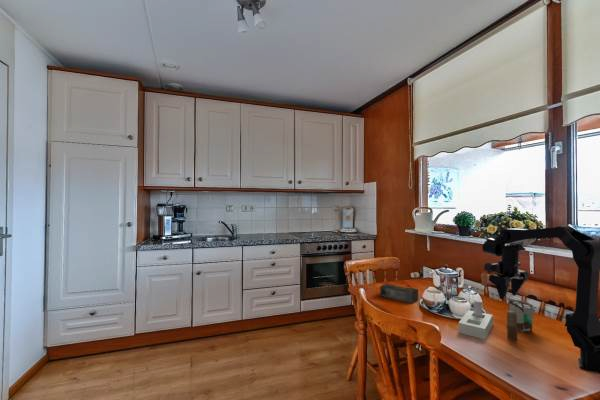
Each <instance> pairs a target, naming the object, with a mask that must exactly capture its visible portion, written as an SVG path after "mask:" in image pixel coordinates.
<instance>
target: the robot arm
mask: <svg viewBox="0 0 600 400" xmlns="http://www.w3.org/2000/svg"><path fill="white" fill-rule="evenodd" d="M553 238H554V239H555V238H557V239H559V240H560V242H561V243H562V244H563V245H564V246H565V247H566V248H567V249H569V250H570V251H571V254H572V259H573V261H574V262H575V264H576V266H577V275H576V276H577V277H576V278H577V279H576V293H575V308H574V309H575V310H574V311H573V312H572V313H566V314H565V323H564V327H566V333H567V334H569V336H570V339H571V341H572V343H573V346H574V347H577V348H578V349H579V355H580V356H579V357H580V358H578V359H577V360H578V367H579V368H580V369H583V370H587V371H590V372H592V373H593V372H594V373H598V374H600V318H599V316H598V314H597V313H598V298H599V297H598V295H599V283H600V280H599V279H600V240H598V239H595V238H593V237H592V236H590V235H588V234H585V233H583V232H580V231H579V230H577V229H575V228H574V227H572V226H570V225H557V226H553V227H543V228H541V227H540V228H532V229H531V228H530V229H529V228H527V229H526V228H519V227H517V228H516V227H514V228H502V229H501V230H500V231H499V234H498V235H497V236H496V237H495V239H494V238H491V237H488V238H486V241H485V242H484V243H483V245H482V251H483V253H485V254H488V255H493V256H495V257H501V259H500V260H498V261H497V263H492V262H485V263H484V265H483V269H484V270H485V271H486V273H488V274H489V273H491V274H490V275H488V282H490V283H492V284H493V285H494V286H495V288H496V291H497V293H498V297H499V299H500V300H501V301H503V300H504V299H505V298H506V296H507V293H508V291H509V290H510V287H511V295H512V296H517V294H518V292H519V291H520V289H521V288H522V287H523V285H524V284H525V283H526V282H527V280H528V279H529V278H530V274H529V273H528V271H527V270H522V269H519V267H520V266H522V262H520V251H522V252H523V251H526V248H525V247H524V246H523V245H522V243H521V242H526V241H529V240H530V241H531V240H535V239H536V240H537V239H553ZM514 243H515V244H514ZM494 272H496V273H494Z"/></svg>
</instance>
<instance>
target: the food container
mask: <svg viewBox="0 0 600 400" xmlns="http://www.w3.org/2000/svg"><path fill="white" fill-rule="evenodd" d="M508 306H509V307H508V308H509V310H510V311H515V312H516V315H517V330H519V331H520V332H521V333H523V334H528V333H529V334H531V333H532V331H533V319H534V314H536V309H535V307H534V305H533V304H531V303H529V302H526V301H522V300H520V299H508Z"/></svg>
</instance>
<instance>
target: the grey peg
mask: <svg viewBox="0 0 600 400" xmlns="http://www.w3.org/2000/svg"><path fill="white" fill-rule="evenodd" d="M473 311H474V316H475V317H479V318H483V316H482V313H483V301H481V300H478V299H475V300H473Z"/></svg>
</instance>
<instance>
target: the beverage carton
mask: <svg viewBox="0 0 600 400" xmlns="http://www.w3.org/2000/svg"><path fill="white" fill-rule="evenodd" d="M381 296H384V297H383V298H386V297H388V298H387V299H390V298H392V299H391V300H395V299H396V300H395V301H402V302H406V303H411V304H414V303H416V302H418V301H419V289H418V288H413V287H406V286H400V285H396V284H395V285H394V284H389V283H384V284H382V285H379V297H381Z"/></svg>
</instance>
